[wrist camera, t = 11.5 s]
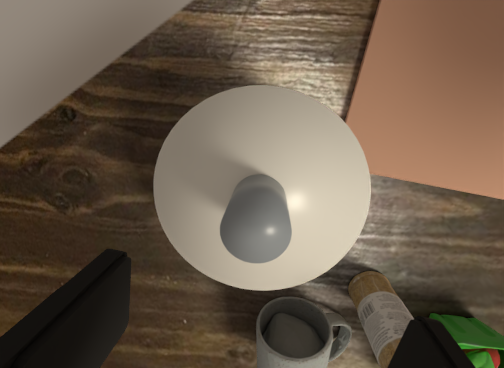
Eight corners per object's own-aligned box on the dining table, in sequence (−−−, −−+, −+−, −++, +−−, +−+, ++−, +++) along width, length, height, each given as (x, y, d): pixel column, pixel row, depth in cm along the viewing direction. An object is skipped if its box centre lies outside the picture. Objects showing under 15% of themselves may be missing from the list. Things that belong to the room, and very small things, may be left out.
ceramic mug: (258, 348, 32) (256, 420, 25) (257, 294, 30) (254, 356, 22) (344, 351, 32) (368, 425, 24) (350, 296, 29) (379, 360, 22)
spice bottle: (370, 309, 29) (448, 469, 16) (338, 290, 29) (393, 438, 16) (398, 282, 28) (507, 432, 15) (365, 261, 28) (449, 397, 15)
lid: (398, 109, 17) (458, 111, 12) (333, 300, 22) (354, 365, 17) (165, 66, 17) (117, 47, 12) (151, 264, 22) (112, 316, 17)
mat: (614, -7, 19) (623, -10, 19) (507, 199, 25) (512, 201, 24) (393, -49, 20) (396, -52, 19) (332, 165, 25) (333, 166, 24)
